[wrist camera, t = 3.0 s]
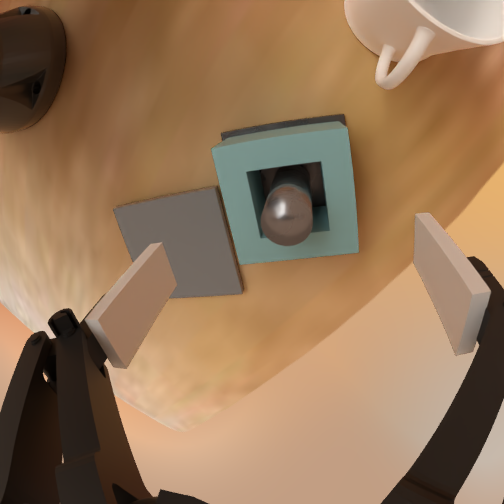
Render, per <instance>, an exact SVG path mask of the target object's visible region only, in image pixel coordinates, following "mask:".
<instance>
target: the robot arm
mask: <svg viewBox="0 0 504 504" xmlns="http://www.w3.org/2000/svg"><path fill="white" fill-rule="evenodd" d="M65 57H66V40H65V33H64V29H63V26H62V23H61V21H60V19H59V17H58V16H57V15H56V14H55V13H54V12H53V11H52V10H50V9H48V8H46V7H40V6H22V7H18V8H15V9H12V10H9V11H6V12H3V13H0V133H12V132H16V131H19V130H22V129H25V128H28V127H30V126H32V125H33V124H35V123H36V122H37V121H39V120H40V119H41V117H42V116H43V115H44V114H45V113H46V111H47V110H48V108H49V107H50V105H51V103H52V102H53V100H54V98H55V95H56V93H57V91H58V88H59V85H60V82H61V79H62V75H63V70H64V65H65ZM413 263H414V265H415V267H416V269H417V271H418V273H419V275H420V277H421V279H422V281H423V283H424V285H425V287H426V289H427V291H428V293H429V295H430V297H431V299H432V302H433V304H434V306H435V308H436V310H437V313H438V315H439V317H440V319H441V322H442V324H443V326H444V329H445V331H446V333H447V335H448V338H449V340H450V343H451V345H452V348H453V350H454V353H455V355H456V356H457V355H461V354H466V353H470V352H473V350H474V347H475V344H476V341H478V343H479V348H478V350H477V352H476V355H475V357H474V359H473V362H472V364H471V366H470V368H469V370H468V372H467V375H466V377H465V379H464V381H463V383H462V385H461V387H460V389H459V391H458V393H457V394H456V396H455V398H454V400H453V402H452V404H451V406H450V407H449V409H448V411H447V413H446V414H445V416H444V418H443V420H442V421H441V423H440V425H439V426H438V428H437V430H436V431H435V433H434V434H433V436H432V438H431V439H430V441H429V442H428V444H427V445H426V447H425V448H424V450H423V451H422V453H421V454H420V456H419V457H418V458H417V460H416V461H415V463H414V464H413V466H412V467H411V468H410V470H409V471H408V472H407V473H406V475H405V476H404V477H403V478H402V479H401V480H400V481H399V482H398V484H397V485H396V486H395V487H394V488H393V490H392V491H391V492H390V493H389V495H388V496H387V497H386V498H385V499H384V500H383V502H382V503H381V504H454V499H455V497H456V495H457V494H458V492H459V490H460V489H461V487H462V485H463V484H464V482H465V480H466V478H467V477H468V475H469V473H470V471H471V469H472V467H473V466H474V464H475V462H476V460H477V458H478V456H479V454H480V452H481V450H482V448H483V446H484V444H485V442H486V440H487V438H488V435H489V433H490V431H491V429H492V426H493V424H494V422H495V419H496V417H497V414H498V412H499V409H500V407H501V404H502V401H503V399H504V289H503V288H502V286H501V285H500V284H499V282H498V281H497V280H496V278H495V277H494V276H493V274H492V273H491V272H490V271H489V270H488V268H487V267H486V265H485V264H484V263H483V262H482V261H480V260H479V259H477V258H476V257H474V256H473V257H466V256H465V255H464V254H463V252H462V251H461V250H460V249H459V247H458V246H457V245H456V244H455V243H454V241H453V240H452V239H451V237H450V236H449V235H448V234H447V233H446V231H445V230H444V229H443V228H442V227H441V226H440V224H439V223H438V222H437V221H436V220H435V219H434V217H433V216H432V215H431V214H430V213H429V212H427V213H416V214H415V239H414V260H413ZM176 286H177V283H176V280H175V277H174V275H173V272H172V269H171V266H170V263H169V261H168V258H167V255H166V252H165V249H164V246H163V243H162V242H161V243H153V244H150V245H149V246H148V247H147V248H146V249H145V250H144V251H143V252H142V254H141V255H140V256H139V257H138V258H137V259H136V260H135V261H134V262H133V264H132V265H131V266H130V267H129V268H128V269H127V270H126V271H125V273H124V274H123V275H122V276H121V277H120V278H119V279H118V280H117V282H116V283H115V284H114V285H113V286H112V287H111V289H110V290H109V291H108V292H107V293H106V294H105V295H103V296H102V297H101V299H100V300H99V301H98V302H97V304H96V305H95V306H94V307H93V309H91V311H90V312H89V313H88V314H87V315H86V317H85V318H84V319H83V320H82V321H81V323H80V324H79V322H78V320H77V319H76V317H75V315H74V313H73V311H72V310H71V309H69V308H68V309H63V310H60V311H58V312H56V313H55V314H54V315H53V316H52V317H51V318H50V319H49V321H48V325H49V326H50V328H51V330H52V331H53V333H54V334H55V336H56V338H53V339H49V337H48V335H47V334H46V332H44V331H39V332H37V333H34V334H33V335H31V336H30V338H29V339H28V340H27V342H26V344H25V346H24V348H23V351H22V353H21V356H20V358H19V361H18V363H17V366H16V368H15V371H14V374H13V376H12V379H11V382H10V385H9V387H8V391H7V393H6V397H5V399H4V402H3V405H2V409H1V412H0V504H208V503H206V502H204V501H201V500H199V499H197V498H195V497H192V496H187V495H183V494H178V493H173V492H169V491H165V490H160V492H159V495H158V497H152V495H151V494H150V493H149V492H148V491H147V489H146V487H145V486H144V483H143V481H142V479H141V476H140V473H139V471H138V468H137V465H136V463H135V460H134V457H133V455H132V452H131V449H130V446H129V443H128V441H127V437H126V434H125V431H124V428H123V425H122V422H121V418H120V415H119V411H118V408H117V404H116V401H115V397H114V393H113V389H112V385H111V382H110V377H109V373H108V369H107V367H106V366H105V364H104V362H105V361H106V359H107V358H108V359H109V361H110V363H111V364H112V366H113V367H116V368H124V369H127V367H128V366H129V364H130V362H131V360H132V359H133V357H134V355H135V354H136V352H137V350H138V348H139V347H140V345H141V343H142V342H143V340H144V338H145V337H146V335H147V333H148V332H149V330H150V328H151V327H152V325H153V323H154V322H155V320H156V318H157V317H158V315H159V313H160V312H161V310H162V308H163V307H164V305H165V304H166V302H167V300H168V299H169V297H170V295H171V294H172V292H173V291H174V289H175V287H176ZM43 372H44V373H45V375H46V376H47V377H48V379H47V382H46V381H45V379H44V376H43ZM62 455H63V458H64V463H62ZM502 504H504V500H503V503H502Z"/></svg>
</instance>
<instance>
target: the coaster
mask: <svg viewBox="0 0 504 504" xmlns="http://www.w3.org/2000/svg"><path fill="white" fill-rule="evenodd" d="M113 211H114V214H115V217H116V219H117V222H118V225H119V228H120V230H121V233H122V236H123V238H124V241H125V243H126V246H127V249H128V251H129V254H130V256H131V259H132V261H133V262H134V261H135V260H136V259H137V258H138V257H139V256H140V255H141V254H142V252H143V251H144V250H145V249H146V248H147V247H148V246H149V245H150V244H153V243H161V242H162V243H163V246H164V249H165V252H166V255H167V258H168V261H169V263H170V266H171V269H172V272H173V275H174V277H175V280H176V283H177V286H176V287H175V289H174V291H173V292H172V294H171V295H170V297H169V298H186V297H204V296H220V295H235V294H242V293H243V290H244V288H243V285H242V281H241V277H240V273H239V269H238V266H237V262H236V258H235V254H234V250H233V246H232V242H231V239H230V235H229V231H228V227H227V223H226V219H225V215H224V211H223V207H222V203H221V199H220V195H219V191H218V187H217V186H213V187H207V188H202V189H196V190H191V191H186V192H181V193H176V194H171V195H166V196H161V197H156V198H151V199H147V200H142V201H137V202H133V203H129V204H124V205H120V206H116V207H115V208H114V209H113Z"/></svg>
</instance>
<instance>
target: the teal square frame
mask: <svg viewBox="0 0 504 504" xmlns="http://www.w3.org/2000/svg"><path fill="white" fill-rule="evenodd" d="M211 151H212V156H213V160H214V164H215V168H216V172H217V176H218V180H219V184H220V188H221V192H222V196H223V200H224V204H225V208H226V212H227V216H228V220H229V224H230V228H231V232H232V236H233V240H234V244H235V248H236V252H237V256H238V260H239V264H240V265H243V264H254V263H264V262H274V261H284V260H294V259H304V258H313V257H323V256H333V255H342V254H351V253H359V243H358V225H357V211H356V198H355V187H354V177H353V167H352V159H351V150H350V142H349V135H348V128H347V127H346V126H344V125H343V124H342V123H341V122H339V121H334V122H325V123H317V124H309V125H301V126H294V127H287V128H281V129H274V130H268V131H262V132H256V133H251V134H245V135H240V136H235V137H230V138H227V139H225V140H224V141H222V142H221V143H219V144H218V145H216V146H214V147H213V148H211ZM319 161H320V167H321V174H322V181H323V188H324V196H325V204H326V206H319V207H312V216H313V227H312V230H311V233H310V234H309V236H308V237H307V238H306V239H305V240H304V241H303V242H301V243H299V244H297V245H293V246H282V245H278V244H276V243H274V242H272V241H271V240H269V239H268V238H267V237H266V236H265V234H264V232H263V230H262V228H261V215H262V212H263V209H264V206H265V203H266V200H265V195H264V190H263V186H262V181H261V176H260V171H259V170H261V169H267V168H274V167H281V166H288V165H295V164H303V163H311V162H319Z"/></svg>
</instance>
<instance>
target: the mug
mask: <svg viewBox="0 0 504 504" xmlns="http://www.w3.org/2000/svg"><path fill="white" fill-rule="evenodd" d="M344 11H345V16H346V19H347V22H348V24H349V26H350V28H351V30H352V32H353V33H354V35H355V36H356V37H357V38H358V40H359V41H360V42H361V43H362V44H363V45H364V46H365V47H367V48H368V49H369V50H371V51H372V52H374V53H375V54H377V55H379V56H380V58H379V61H378V64H377V68H376V73H375V81H376V83H377V85H378V86H380V87H381V88H383V89H386V90H390V89H393V88H395V87H397V86H398V85H399V84H400V83H402V82H403V81H404V80H405V79H406V78H407V77H408V75H409V74H410V73H411V72H412V71H413V69H414V68H415V67H416V65H417V64H418V62H419V61H422V60H424V59H426V58H428V57H430V56H432V55H436V54H441V53H446V52H451V51H457V50H462V49H468V48H475V47H481V46H488V45H494V44H498V43H501V42H503V41H504V0H345V1H344ZM391 61H394V62H399V63H398V64H397V65H396V67H395V68H394V69H393V70H392V72H391V73H390V74H389V75H388V76H387V73H388V69H389V65H390V62H391Z"/></svg>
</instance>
